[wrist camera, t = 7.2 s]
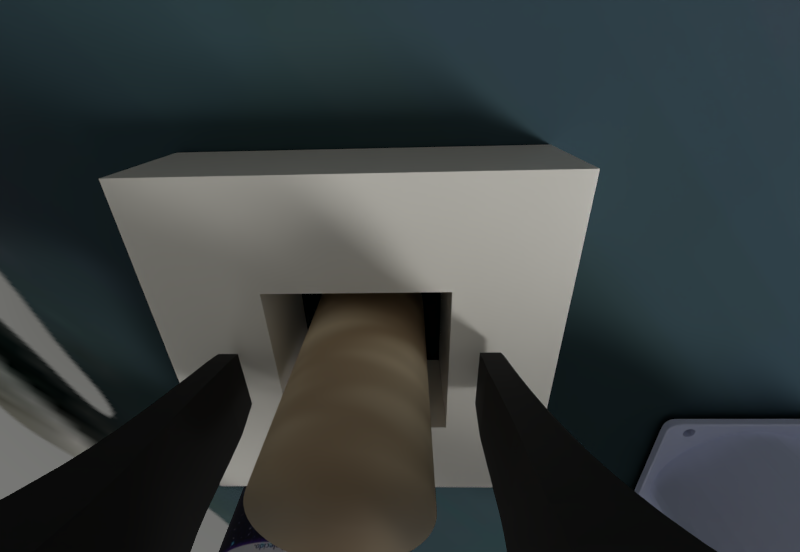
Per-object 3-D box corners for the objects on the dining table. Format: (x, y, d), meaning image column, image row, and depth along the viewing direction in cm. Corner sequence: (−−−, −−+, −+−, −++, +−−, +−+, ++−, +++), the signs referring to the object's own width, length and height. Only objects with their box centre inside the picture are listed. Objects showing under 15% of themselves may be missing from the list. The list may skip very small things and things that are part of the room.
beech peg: (425, 261, 14) (443, 453, 7) (421, 347, 16) (431, 567, 9) (317, 259, 14) (225, 447, 7) (325, 345, 16) (259, 562, 9)
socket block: (550, 144, 12) (600, 168, 9) (508, 414, 18) (529, 487, 14) (176, 152, 12) (98, 178, 9) (252, 415, 18) (220, 485, 15)
